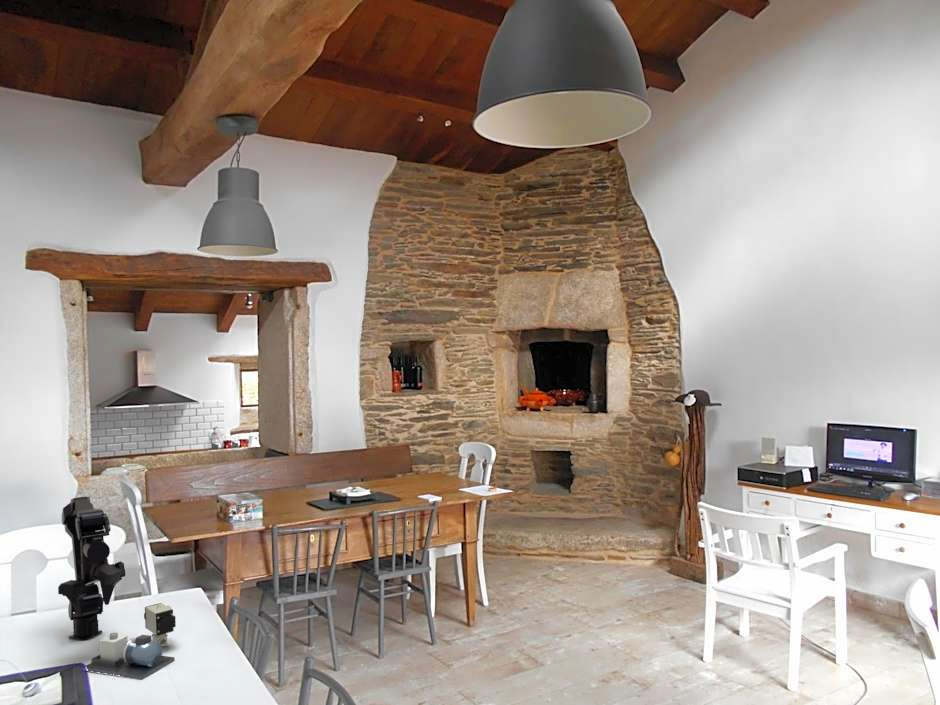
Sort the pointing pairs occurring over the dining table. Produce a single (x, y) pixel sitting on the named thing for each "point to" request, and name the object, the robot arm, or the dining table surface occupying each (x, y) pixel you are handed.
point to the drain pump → (112, 647)
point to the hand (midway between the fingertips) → (93, 610)
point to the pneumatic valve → (159, 622)
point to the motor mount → (134, 659)
